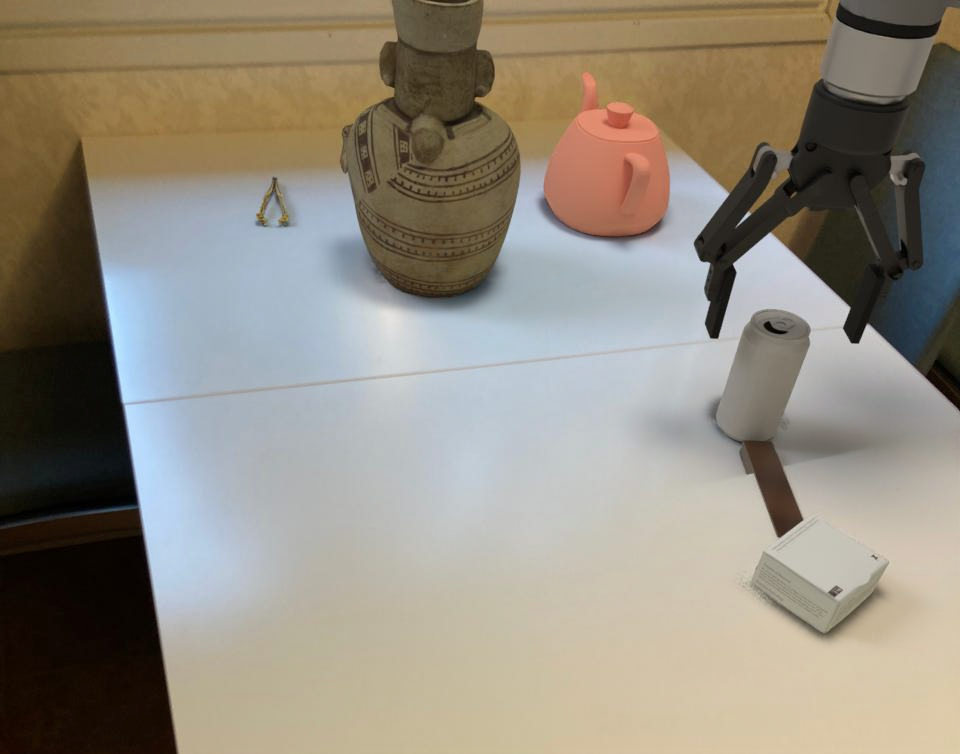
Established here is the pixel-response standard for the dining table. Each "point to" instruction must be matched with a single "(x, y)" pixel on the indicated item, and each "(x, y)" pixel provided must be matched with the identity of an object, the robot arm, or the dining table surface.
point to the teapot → (608, 170)
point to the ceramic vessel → (433, 155)
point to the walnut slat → (772, 484)
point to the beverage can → (763, 375)
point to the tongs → (265, 199)
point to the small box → (818, 572)
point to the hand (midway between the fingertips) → (781, 334)
